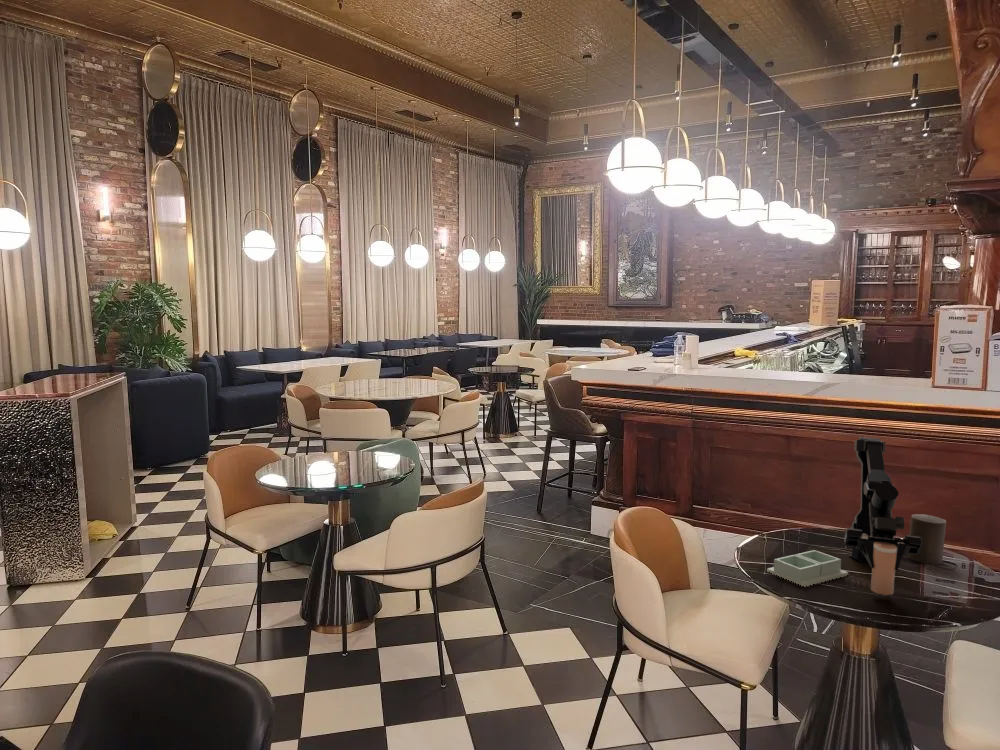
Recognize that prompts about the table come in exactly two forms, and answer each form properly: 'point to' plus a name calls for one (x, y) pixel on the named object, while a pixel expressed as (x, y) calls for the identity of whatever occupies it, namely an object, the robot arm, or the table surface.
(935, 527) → the pillar candle
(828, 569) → the compartment organizer
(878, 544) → the tumbler
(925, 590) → the table surface
